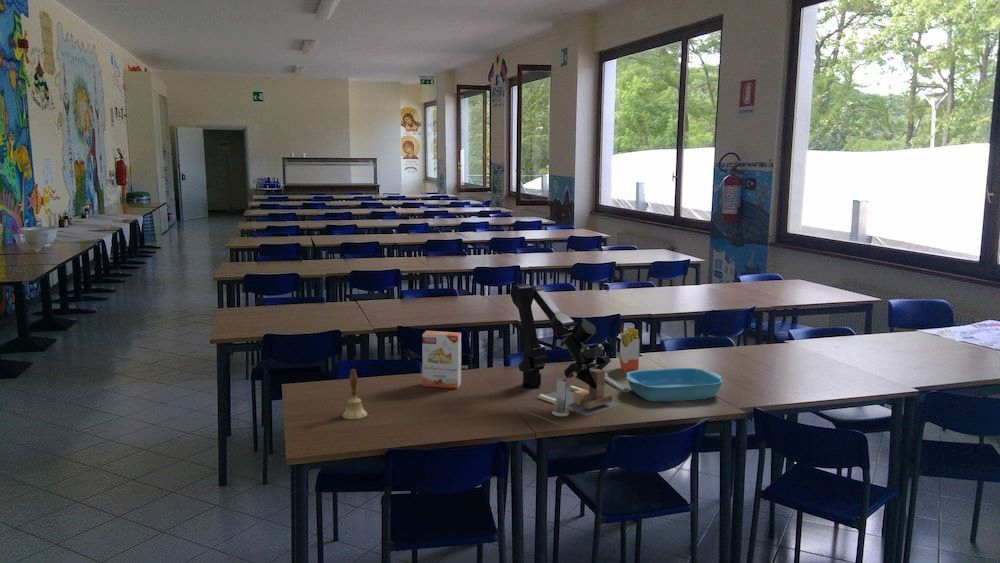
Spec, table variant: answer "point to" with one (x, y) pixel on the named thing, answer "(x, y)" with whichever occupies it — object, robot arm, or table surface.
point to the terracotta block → (580, 395)
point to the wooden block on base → (596, 391)
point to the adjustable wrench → (616, 384)
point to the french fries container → (629, 350)
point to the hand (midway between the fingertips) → (599, 387)
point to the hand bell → (354, 401)
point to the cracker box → (441, 359)
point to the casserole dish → (674, 384)
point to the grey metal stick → (561, 399)
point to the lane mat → (573, 406)
